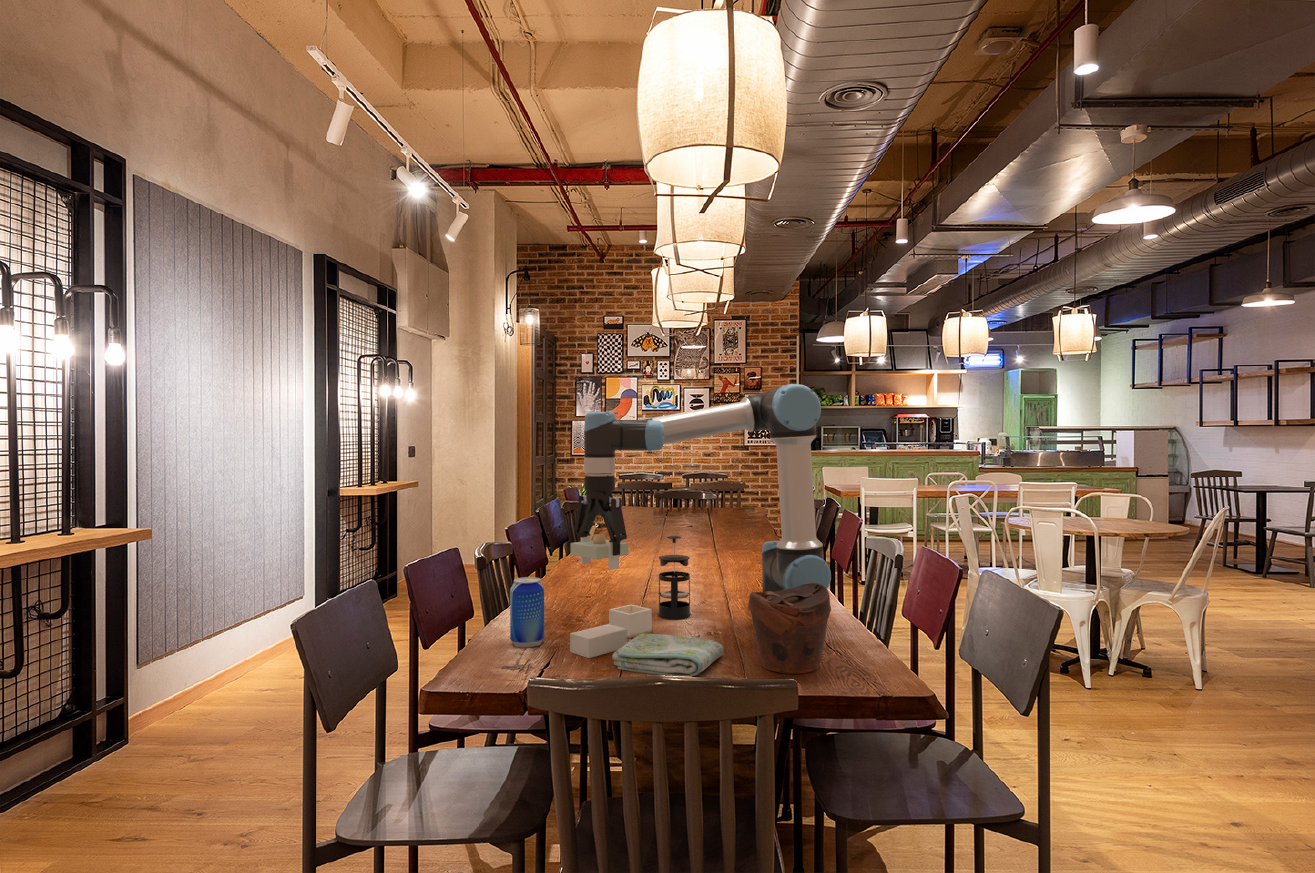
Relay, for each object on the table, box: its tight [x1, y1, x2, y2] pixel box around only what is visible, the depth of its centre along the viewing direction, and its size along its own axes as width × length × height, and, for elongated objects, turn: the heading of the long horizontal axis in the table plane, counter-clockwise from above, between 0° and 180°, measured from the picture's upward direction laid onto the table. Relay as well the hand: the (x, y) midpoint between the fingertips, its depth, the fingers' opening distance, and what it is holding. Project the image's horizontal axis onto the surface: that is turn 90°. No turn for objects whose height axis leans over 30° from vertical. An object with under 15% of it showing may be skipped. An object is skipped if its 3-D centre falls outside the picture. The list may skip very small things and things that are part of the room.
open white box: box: [608, 604, 653, 639], centre depth 188 cm, size 8×8×6 cm
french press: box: [657, 535, 692, 621], centre depth 206 cm, size 12×9×23 cm
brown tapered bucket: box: [747, 583, 832, 675], centre depth 160 cm, size 18×20×18 cm
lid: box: [570, 533, 629, 560], centre depth 174 cm, size 10×10×5 cm
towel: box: [611, 633, 725, 677], centre depth 163 cm, size 18×21×5 cm
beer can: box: [509, 576, 545, 648], centre depth 178 cm, size 8×8×16 cm
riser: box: [569, 623, 628, 659], centre depth 173 cm, size 7×12×4 cm, turn 135°
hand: (599, 565), depth 174 cm, fingers closed on lid, 10 cm apart
